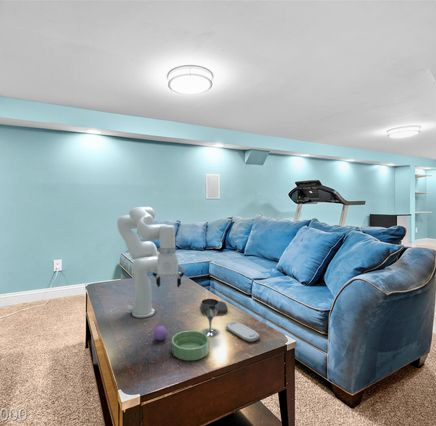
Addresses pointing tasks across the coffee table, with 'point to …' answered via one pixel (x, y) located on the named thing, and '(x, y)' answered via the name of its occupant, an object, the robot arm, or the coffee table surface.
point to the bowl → (190, 345)
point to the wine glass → (210, 314)
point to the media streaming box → (220, 308)
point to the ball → (160, 333)
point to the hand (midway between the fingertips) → (168, 286)
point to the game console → (242, 331)
